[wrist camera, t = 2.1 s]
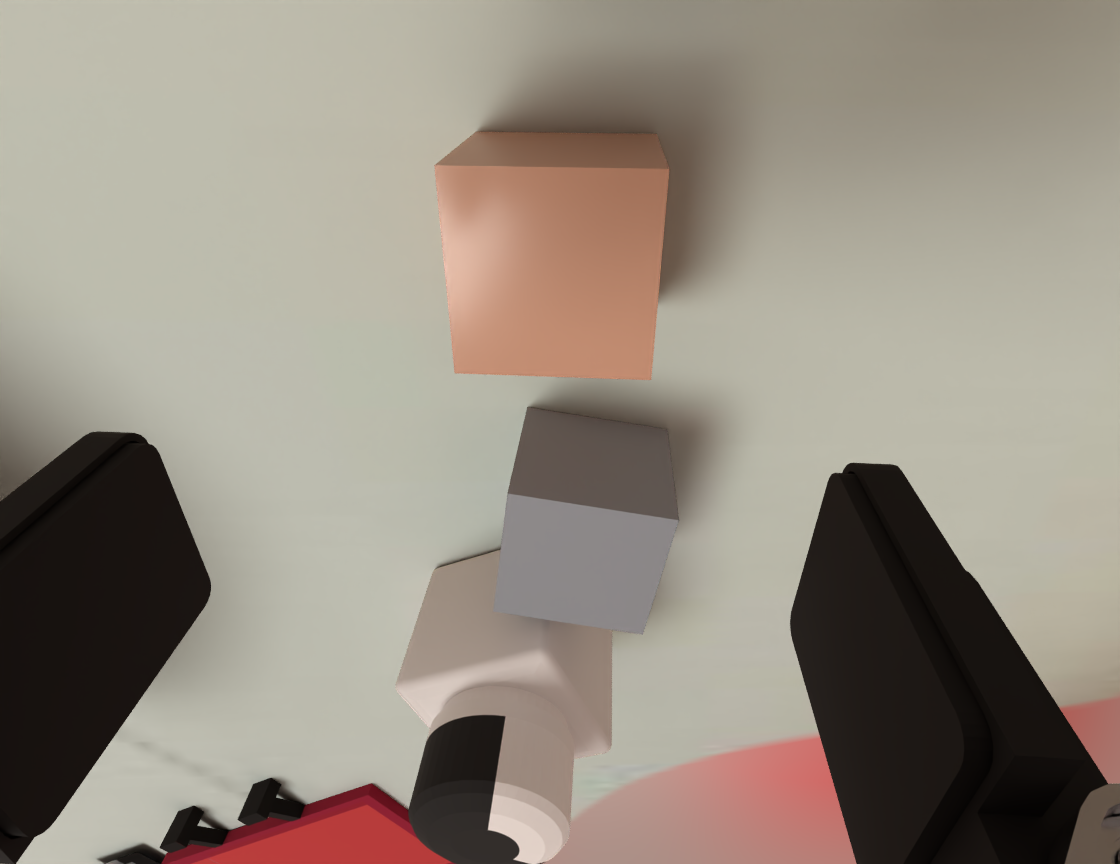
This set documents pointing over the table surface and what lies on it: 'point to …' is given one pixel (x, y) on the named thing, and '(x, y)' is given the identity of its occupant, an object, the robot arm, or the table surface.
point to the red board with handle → (299, 833)
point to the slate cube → (586, 521)
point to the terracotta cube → (553, 252)
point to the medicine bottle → (500, 719)
